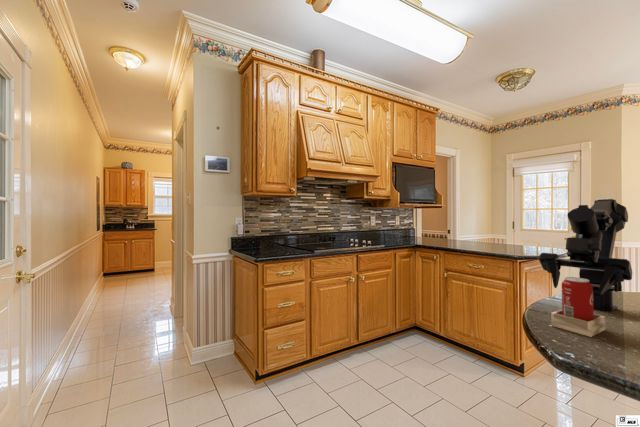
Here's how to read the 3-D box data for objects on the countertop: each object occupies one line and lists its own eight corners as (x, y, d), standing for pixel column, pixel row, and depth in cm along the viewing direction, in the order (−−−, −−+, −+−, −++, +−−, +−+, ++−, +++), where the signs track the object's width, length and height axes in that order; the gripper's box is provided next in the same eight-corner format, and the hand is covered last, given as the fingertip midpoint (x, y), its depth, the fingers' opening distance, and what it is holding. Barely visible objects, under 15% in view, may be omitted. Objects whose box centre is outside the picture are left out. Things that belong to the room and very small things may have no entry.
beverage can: (600, 328, 74) (599, 281, 74) (573, 328, 75) (572, 281, 75) (581, 319, 81) (580, 276, 81) (556, 319, 81) (555, 276, 81)
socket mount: (566, 319, 83) (565, 307, 83) (605, 329, 76) (604, 316, 76) (551, 325, 79) (551, 313, 79) (591, 336, 72) (590, 322, 72)
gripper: (539, 226, 88) (526, 267, 82) (629, 227, 73) (621, 278, 66) (549, 249, 93) (537, 290, 86) (635, 255, 78) (628, 305, 71)
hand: (576, 290), depth 77 cm, fingers open, 9 cm apart
